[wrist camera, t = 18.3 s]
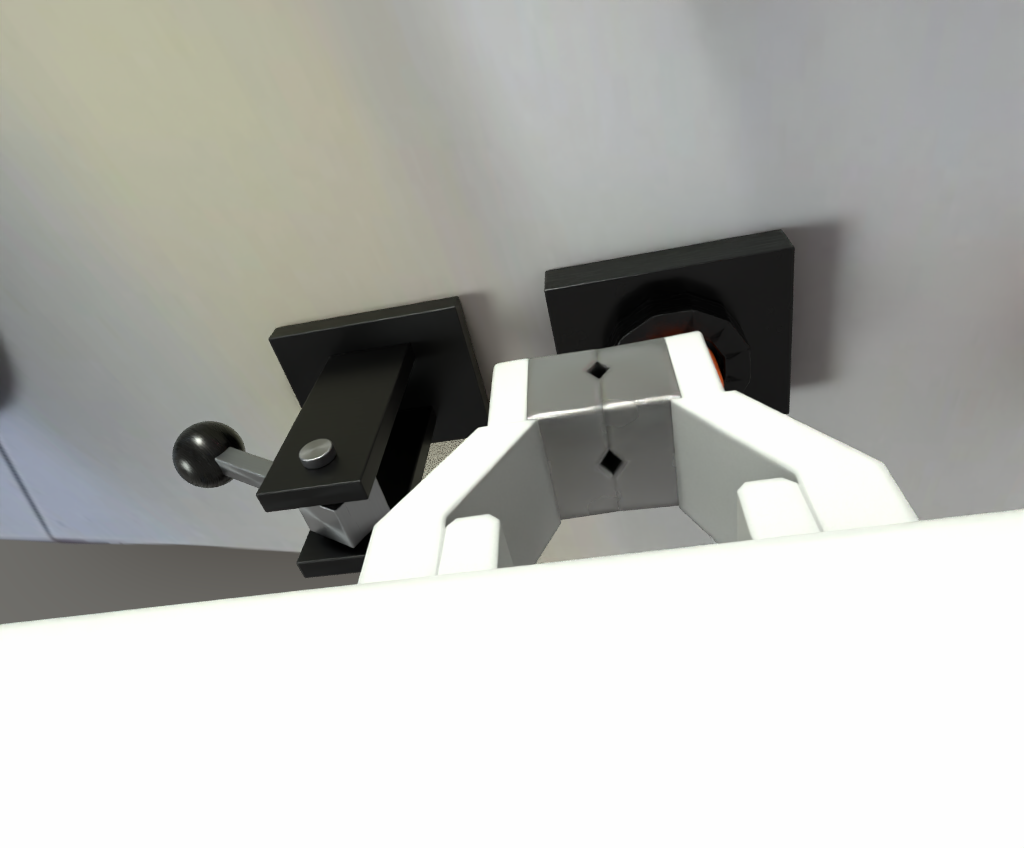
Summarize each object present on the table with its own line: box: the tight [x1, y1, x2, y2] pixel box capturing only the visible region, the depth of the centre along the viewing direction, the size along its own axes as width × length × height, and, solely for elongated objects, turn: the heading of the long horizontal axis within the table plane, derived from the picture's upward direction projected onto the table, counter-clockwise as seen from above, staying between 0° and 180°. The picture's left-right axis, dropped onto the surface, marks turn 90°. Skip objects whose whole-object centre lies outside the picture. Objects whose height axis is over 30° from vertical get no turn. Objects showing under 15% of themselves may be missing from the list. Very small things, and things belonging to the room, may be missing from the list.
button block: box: [544, 230, 795, 414], centre depth 33 cm, size 11×9×4 cm
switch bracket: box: [256, 297, 490, 578], centre depth 32 cm, size 10×8×12 cm
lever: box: [173, 421, 390, 548], centre depth 32 cm, size 13×3×3 cm, turn 102°
